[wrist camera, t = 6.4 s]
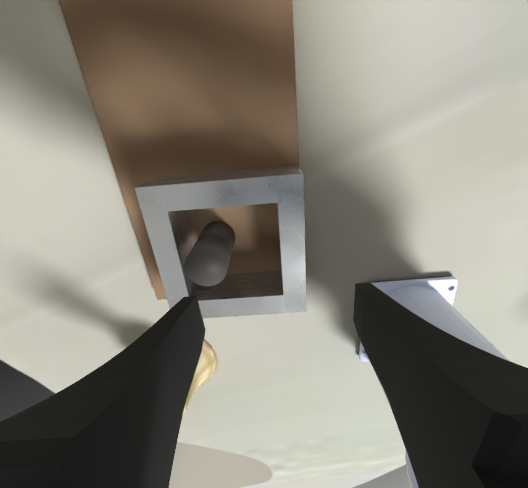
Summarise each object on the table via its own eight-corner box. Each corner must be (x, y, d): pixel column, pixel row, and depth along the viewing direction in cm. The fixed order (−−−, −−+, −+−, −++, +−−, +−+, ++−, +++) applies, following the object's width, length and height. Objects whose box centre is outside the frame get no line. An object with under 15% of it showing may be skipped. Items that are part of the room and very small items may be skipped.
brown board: (302, 281, 23) (313, 329, 18) (161, 293, 24) (130, 342, 18) (287, -57, 14) (301, -173, 9) (60, -25, 15) (-61, -114, 9)
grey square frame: (300, 284, 22) (306, 311, 19) (186, 292, 23) (173, 320, 19) (296, 165, 18) (303, 173, 15) (157, 177, 18) (134, 187, 15)
